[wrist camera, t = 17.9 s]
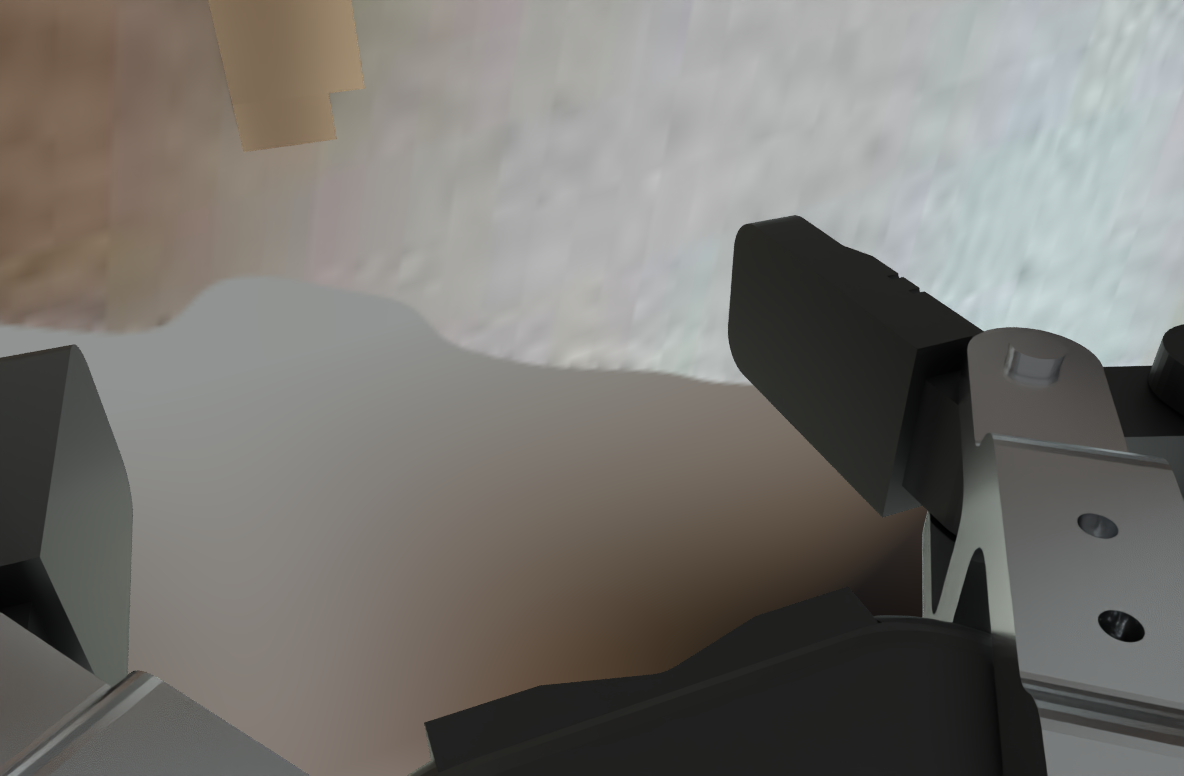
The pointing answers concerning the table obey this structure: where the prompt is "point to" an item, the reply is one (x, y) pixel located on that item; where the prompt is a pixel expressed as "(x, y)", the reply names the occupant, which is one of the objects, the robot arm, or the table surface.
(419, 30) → the table surface
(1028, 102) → the table surface
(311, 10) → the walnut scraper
